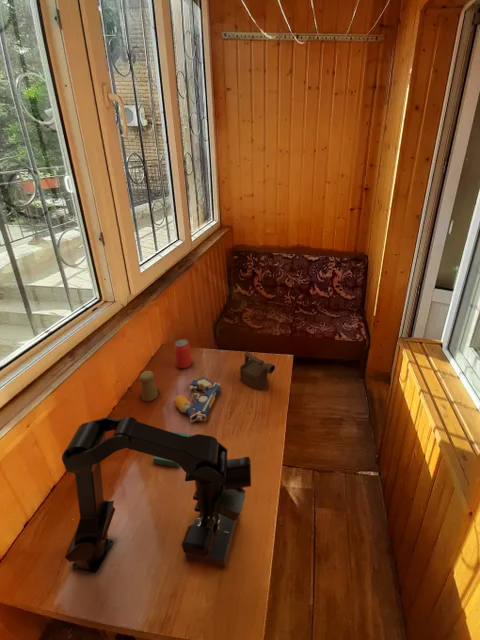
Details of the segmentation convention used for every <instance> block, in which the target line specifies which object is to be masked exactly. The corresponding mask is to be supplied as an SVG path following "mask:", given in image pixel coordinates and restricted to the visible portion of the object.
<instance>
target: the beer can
mask: <svg viewBox="0 0 480 640" xmlns="http://www.w3.org/2000/svg"><path fill="white" fill-rule="evenodd" d="M191 353H192V352H191V346H190V342H189V340H188V339H186V338H180V339H178V340H176V341H175V342H174V356H175V364H176V367H177V368H178V369H186V368H188V367H190V366H191V364H192V354H191Z"/></svg>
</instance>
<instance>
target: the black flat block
mask: <svg viewBox="0 0 480 640" xmlns="http://www.w3.org/2000/svg"><path fill="white" fill-rule="evenodd" d="M199 514H200V512H198V515H197V518H196V520H198V517H199ZM219 515H220V524H221V530H220V533H219V535H218V536H217V537H215V538H214V539H213V543H212V546H211V549H210V552H209V555H207V556H206V557H204V556H199V555H194V554H189V553H184V556H185V560H186V561H191V562H196V563H201V564H206V565H211V566H216V567H221V568H226V567H227V562H228V557H229V554H230V550H231V546H232V543H233V538H234V535H235V531H236V527H237V523H238V519H239V518H238V519H237V520H235V521H233V520H231V519H229V518H227V517H225V516H222V515H221V514H219ZM202 517H203V516H202ZM200 521H201V520H200Z"/></svg>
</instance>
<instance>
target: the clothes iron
mask: <svg viewBox="0 0 480 640" xmlns="http://www.w3.org/2000/svg"><path fill="white" fill-rule="evenodd" d="M275 370H276V366H275V364H272V363H270V362H269V363H268V362H265V361H264V360H263V359H260V358H259V357H257V356H256V355H253V354H252V353H250V352H249V351H245V353H244V363H243V364H241V365H240V367H239V371H240V372H239V376H240V378H239V379H240V380H241V382H242V383H244V384H246V385H248V386H249V387H251V388H253V389H257V390H267V389H268V388H269V382H268V374H269V375H272V374H273V373H274V371H275Z"/></svg>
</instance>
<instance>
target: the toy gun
mask: <svg viewBox="0 0 480 640" xmlns="http://www.w3.org/2000/svg"><path fill="white" fill-rule="evenodd" d="M189 390H193V392H194V393H193V399H192V404H191V402H190V401H189V400H188V398H186V396H185V395H184V394H179V395H177V396H176V397H175V398H174V400H173V405H175V407H176V408H177V409H178V410H179V411H180V412H181V413H182V414H187V416H188V417H189V422H190V423H193V422H196V421H198V422H201V421H202V422H206V421H207V417H208V414H209V412H210V410H211V408H212V407H213V406H212V405H213V404H214V402H215V399H216V398H217V396H218V395H219V393H220V391H221V384H220V383H219V382H218V383H217V381H214V382H211V381H210V380H208V379H207V378H206V377H205V376H204V377H200V378H195V379H193V380H192V381H191V382H190V384H189ZM197 390H199V391H200V390H202V394H200V392H199V391H197Z"/></svg>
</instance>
